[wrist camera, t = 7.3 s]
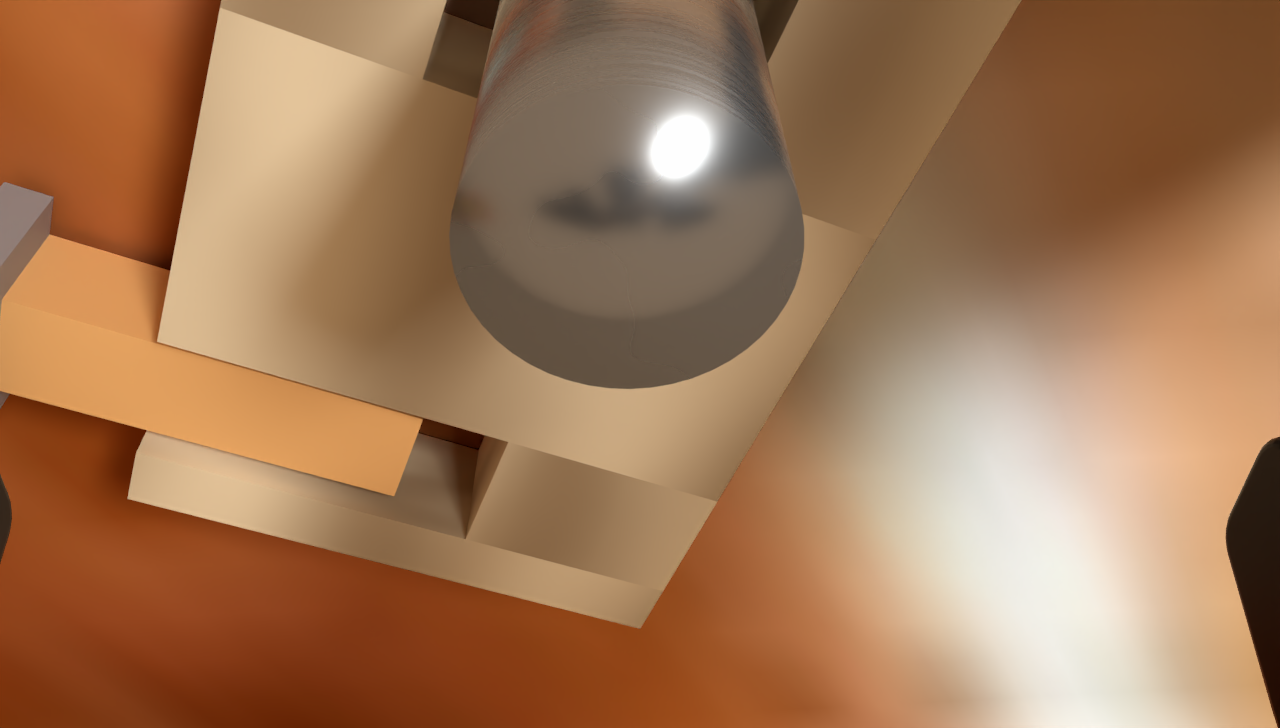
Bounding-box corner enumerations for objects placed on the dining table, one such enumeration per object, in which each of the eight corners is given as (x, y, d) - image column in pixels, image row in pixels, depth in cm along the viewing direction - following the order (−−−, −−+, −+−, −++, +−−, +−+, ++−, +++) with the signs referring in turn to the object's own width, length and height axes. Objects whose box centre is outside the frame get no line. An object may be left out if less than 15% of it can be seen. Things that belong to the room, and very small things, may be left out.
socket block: (1019, -135, 17) (1070, -81, 15) (638, 538, 26) (640, 628, 24) (343, -440, 15) (301, -424, 13) (169, 410, 23) (127, 498, 21)
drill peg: (767, -131, 17) (869, 161, 10) (682, 62, 19) (717, 425, 12) (561, -219, 17) (514, 28, 9) (492, -10, 18) (408, 332, 11)
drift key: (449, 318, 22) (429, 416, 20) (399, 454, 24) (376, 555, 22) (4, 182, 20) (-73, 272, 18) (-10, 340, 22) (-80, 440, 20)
